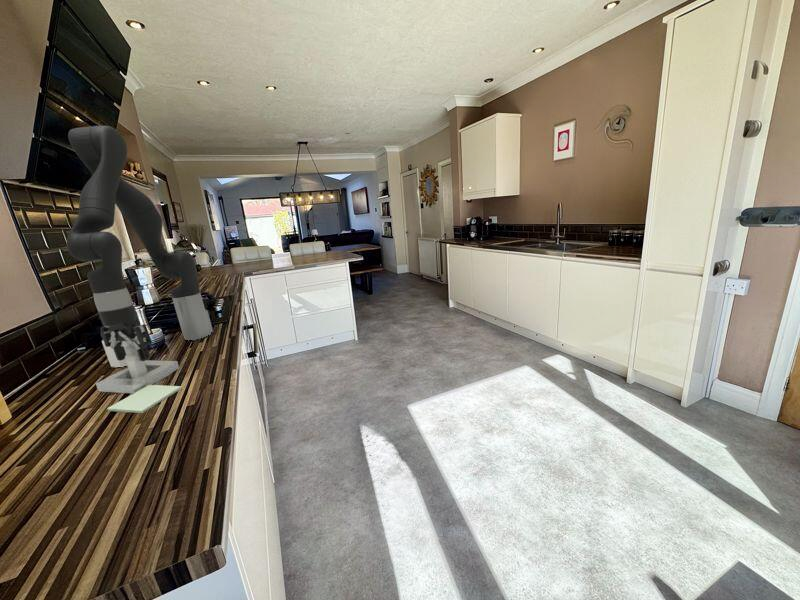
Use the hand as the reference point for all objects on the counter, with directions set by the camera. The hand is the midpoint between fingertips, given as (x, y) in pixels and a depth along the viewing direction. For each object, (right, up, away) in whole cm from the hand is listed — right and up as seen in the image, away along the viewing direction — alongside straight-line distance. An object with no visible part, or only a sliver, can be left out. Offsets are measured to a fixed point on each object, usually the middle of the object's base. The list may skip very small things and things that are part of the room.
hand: (133, 359), depth 93 cm
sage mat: (+11, -8, -10) cm, 17 cm away
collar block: (+1, -6, +2) cm, 7 cm away
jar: (-15, -4, +16) cm, 22 cm away
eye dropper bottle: (+1, -6, +2) cm, 7 cm away
